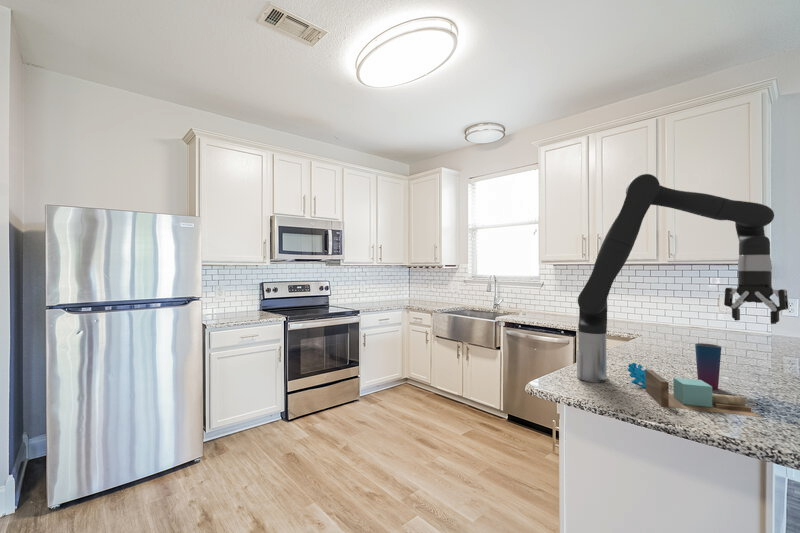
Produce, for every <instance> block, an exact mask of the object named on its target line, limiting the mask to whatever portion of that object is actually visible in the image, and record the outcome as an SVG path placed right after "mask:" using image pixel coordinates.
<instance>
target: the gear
mask: <svg viewBox="0 0 800 533" xmlns="http://www.w3.org/2000/svg"><path fill="white" fill-rule="evenodd" d="M627 367H628V368H627V371H628V372H629V376H630V378H633V380H631V381H630V383H631V384H632V383H633V384H637V385H638V384H640V383H641V385H640V387H641V388H642V389H645V370H648V369H647V368H645V369H643V368H644V367H643V366H642V365H641V364H640V363H639V364H638V363H636V362H632V363H630V364H628V365H627Z"/></svg>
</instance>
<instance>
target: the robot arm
mask: <svg viewBox="0 0 800 533" xmlns="http://www.w3.org/2000/svg"><path fill="white" fill-rule="evenodd" d="M625 195H626V196H625V198H624V200H623V204H622V206H621V209H620V211H619V213H618V215H617V216H616V218H615V220H614V221H613V222H612V224H611V226H610V227H609V229H608V231H607V232H606V235H605V236H604V239H603V241H602V242H601V245H600V248H599V251H598V253H597V256H596V260H595V262H594V265H593V269H592V271H591V274H590V276H589V278H588V280H587V281H586V283H585V285H584V287H582V288H583V289H582V290H581V291H580V293H579V294H578V297H577V305H578V308H579V311H578V312H579V314H578V323H577V324H578V325H577V326H578V328H577V331H578V334H577V337H578V339H577V341H578V342H577V347H578V348H577V351H576V352H577V354H576V356H577V357H576V369H577V370H576V376H577V377H578V380H580V381H585V382H590V383H605V382H606V381H607V376H608V374H607V360H608V359H607V357H608V356H607V351H608V350H607V332H608V329H607V328H608V298H609V293H610V290H611V288H612V285H613V283H614V281H615V279H616V277H617V276H618V274H619V273H620V272H621V270H622V269H623V267H624V265H625V264H626V262H627V260H628V258H629V256H630V254H631V251H632V250H633V248H634V245H635V243H636V240H637V238H638V235H639V232H640V230H641V228H642V227H641V226H642V223H643V220H644V219H645V216H646V214H647V212H648V211H649V209H650V207H651V206H659V207H664V208H669V209H674V210H678V211H682V212H685V213H690V214H693V215H697V216H700V217H704V218H708V219H712V220H716V221H729V222H735V231H736V235H737V238H738V242H739V243H738V260H737V285H738V286H737V288H734V287H725V289H724V299H723V300H724V303H723V304H724V306H726V307H729V308H731V318H732V319H733V320H734V321H740V320H741V308H740V307H741V306H742V305H744V303H756V304H757V303H758V304H762V303H763V304H764V305H765V306H767V307H768V308H769V309H770V310H771V311H770V324H771V325H776V324H777V323H779V322H780V312H781V311H784V310H785V311H787V310H788V309H789V299H788V291H787V289H784V288H783V289H773V287H772V284H773V283H772V281H773V280H772V274H773V273H772V272H773V271H772V269H773V266H772V259H771V241H770V238H769V237H767V236H766V235H765V226H768V225H769V224H770V223H771V222H772V221H773V220H774V219H775V212H774V210H773V209H772V208H771V207H769V206H768V205H765V204H762V203H758V202H752V201H744V200H734V199H729V198H727V197H722V196H717V195H714V194H708V193H702V192H695V191H684V190H679V189H673V188H669V187H666V186H664V185H661V184H660V181H659V180H658V177H656V176H655V175H654V174H650V173H643V174H639V175H638V176H635V177H634V178H632V180H630V182H629V184H628V185H627V187H626V190H625ZM736 293H737V295H739V296H738V298H737V299H736V300H735V301H734V303H733V299H734V298H733V296H734V295H735V294H736ZM774 294H775V296H776V297H778V303H779V305H778V304H776V302H775V301H774V300H773V299H772V298H771V297H772V295H774Z"/></svg>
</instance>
